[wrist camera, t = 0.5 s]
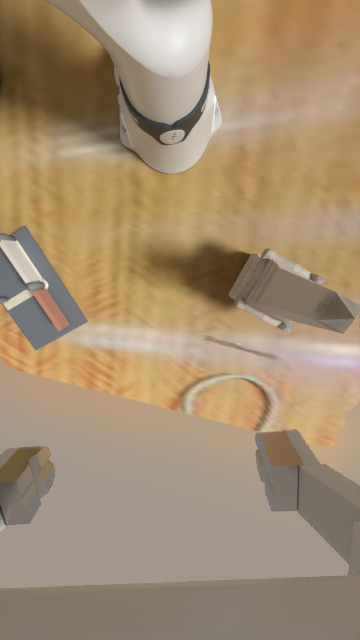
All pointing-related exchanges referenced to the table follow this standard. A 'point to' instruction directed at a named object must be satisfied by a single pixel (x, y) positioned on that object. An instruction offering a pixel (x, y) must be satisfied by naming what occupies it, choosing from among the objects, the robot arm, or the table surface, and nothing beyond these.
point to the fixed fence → (20, 264)
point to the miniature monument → (289, 295)
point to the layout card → (22, 302)
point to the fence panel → (51, 309)
